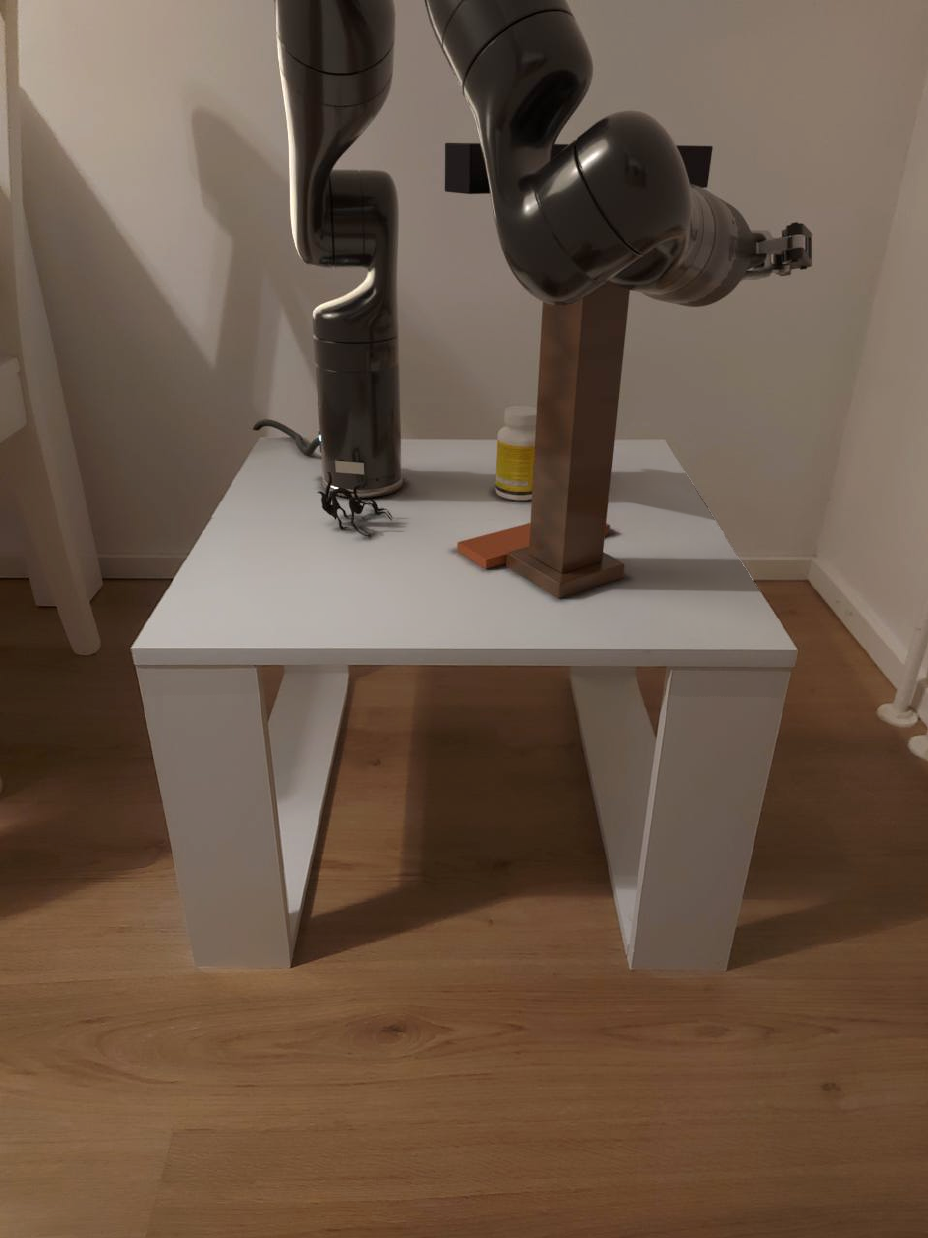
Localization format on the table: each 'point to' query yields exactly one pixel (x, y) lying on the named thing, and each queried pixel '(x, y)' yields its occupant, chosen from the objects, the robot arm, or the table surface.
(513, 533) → the wooden plank
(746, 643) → the table surface
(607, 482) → the plant stand
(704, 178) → the handle bar
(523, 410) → the supplement bottle
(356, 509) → the creature
